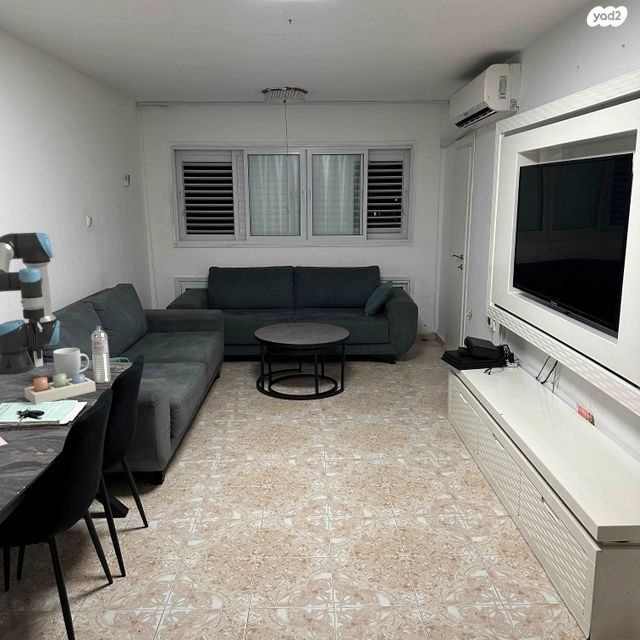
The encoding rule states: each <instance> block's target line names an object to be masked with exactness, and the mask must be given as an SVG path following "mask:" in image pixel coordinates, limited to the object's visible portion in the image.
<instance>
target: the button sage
mask: <svg viewBox="0 0 640 640" xmlns="http://www.w3.org/2000/svg"><path fill="white" fill-rule="evenodd" d="M52 381H53V384H54V388H60V387H65V386H67V380H66V374H64V373H59V374H57V373H55V374H52Z"/></svg>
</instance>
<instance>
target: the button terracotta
mask: <svg viewBox="0 0 640 640" xmlns="http://www.w3.org/2000/svg"><path fill="white" fill-rule="evenodd" d="M32 380H33V386H34V391H35V392H36V393H37V392H41V391H46V390H48V377H46V376H40V377H39V376H38V377H35V378H33V379H32Z"/></svg>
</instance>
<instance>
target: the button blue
mask: <svg viewBox="0 0 640 640" xmlns="http://www.w3.org/2000/svg"><path fill="white" fill-rule="evenodd" d="M85 377H86V376H85V374H83V373H79V374H75V375H72V384H78V383H83V382H85Z"/></svg>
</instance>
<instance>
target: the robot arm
mask: <svg viewBox="0 0 640 640" xmlns="http://www.w3.org/2000/svg"><path fill="white" fill-rule="evenodd" d="M52 258H54V253H53V247H52V244H51V240H50V236H49V235H48V234H47V233H45V232H18V233H17V232H16V233H15V232H14V233H13V232H11V233H6V234H3V235H1V236H0V292H1V293H2V292H17V291H20V297H21V300H20V304H21V306H22V317H23V319H15V320H10V321H6V322H3V323H0V374H1V375H9V374H10V375H13V374H14V375H15V374H19V373H25V372H29V371H30V370H33V369H34V367H35V368H38V367H43V366H44V361H43V360H44V359H43V357H44V356H43V350H44V349H45V346H53V345H57V344H58V343H59V341H60V320H57V317H56V316H55V315H54V314H53V309H52V301H51V291H50V281H49V271H48V269H49V268H48V265H49V264H50V263H51V259H52ZM12 260H22V261H21V262H22V264H23V265H25V267H26V268H22V269H21V268H20V269H19V271H13V272H11V271H10V267H11V261H12ZM25 320H28V321H27V322H25ZM28 348H32V352H33V353H32V354H33V359H34V360H32V359H31V356H30V355H29V352H28ZM33 361H34V363H33Z"/></svg>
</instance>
